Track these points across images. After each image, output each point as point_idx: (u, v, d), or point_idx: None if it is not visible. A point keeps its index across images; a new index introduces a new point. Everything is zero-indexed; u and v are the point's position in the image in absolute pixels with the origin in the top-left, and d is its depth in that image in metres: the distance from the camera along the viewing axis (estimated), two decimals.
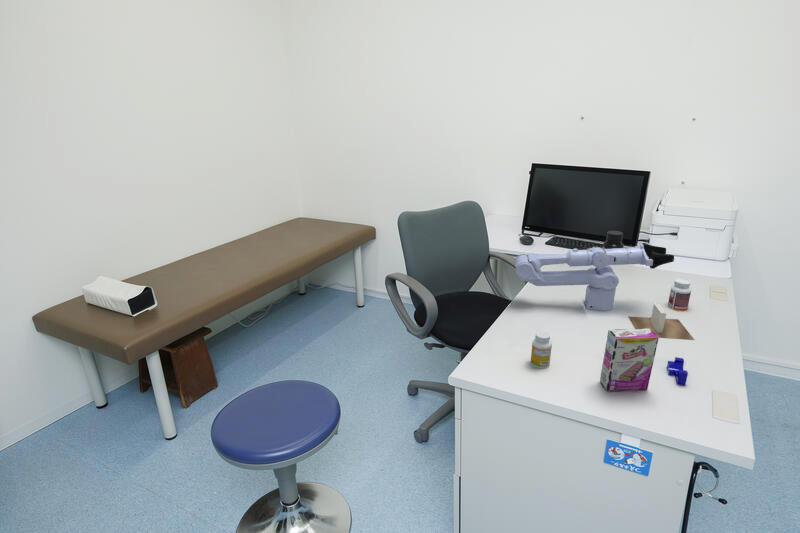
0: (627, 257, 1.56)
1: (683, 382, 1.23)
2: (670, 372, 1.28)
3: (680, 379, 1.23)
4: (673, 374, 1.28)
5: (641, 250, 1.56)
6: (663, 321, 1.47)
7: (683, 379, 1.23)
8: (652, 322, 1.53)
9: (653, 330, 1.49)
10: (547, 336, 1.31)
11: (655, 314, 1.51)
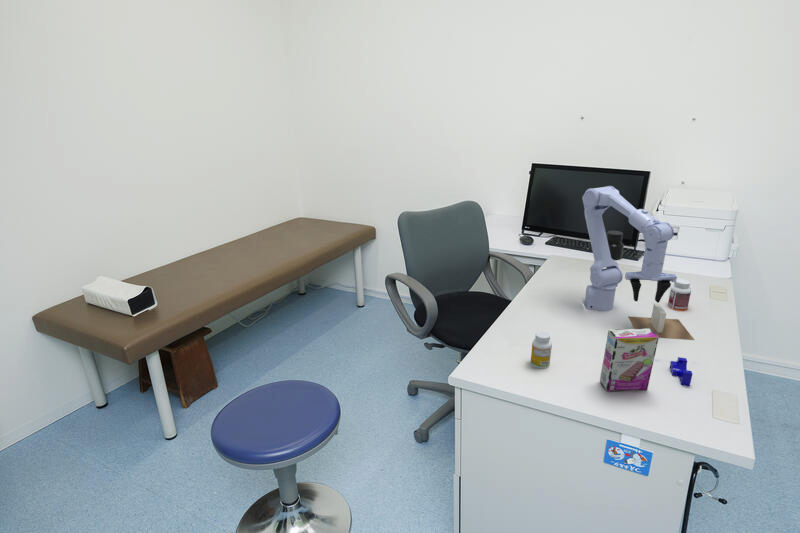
0: (648, 262, 1.42)
1: (687, 382, 1.23)
2: (674, 372, 1.27)
3: (685, 379, 1.23)
4: (677, 374, 1.27)
5: (647, 276, 1.44)
6: (663, 321, 1.47)
7: (688, 379, 1.23)
8: (652, 322, 1.53)
9: (653, 330, 1.49)
10: (547, 336, 1.31)
11: (655, 314, 1.51)
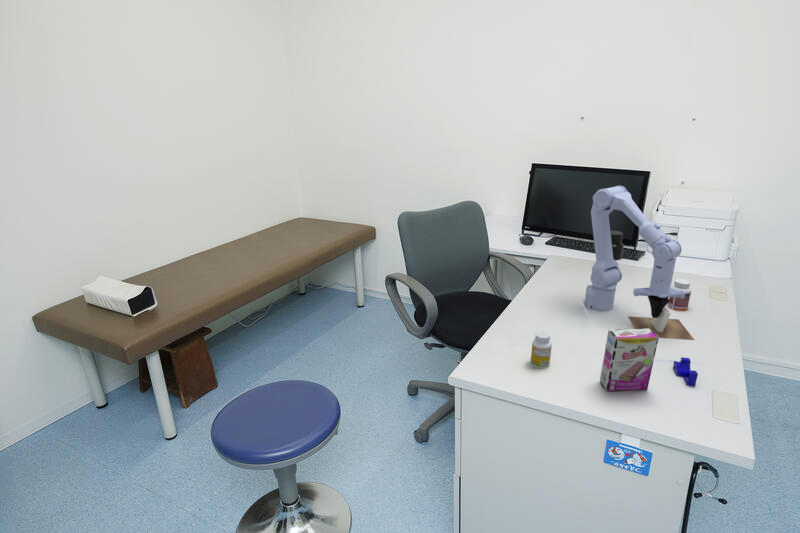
0: (658, 279, 1.43)
1: (693, 382, 1.23)
2: (678, 373, 1.27)
3: (690, 379, 1.23)
4: (681, 375, 1.27)
5: (656, 293, 1.45)
6: (666, 321, 1.46)
7: (693, 379, 1.23)
8: (653, 321, 1.53)
9: (653, 330, 1.49)
10: (547, 336, 1.31)
11: None
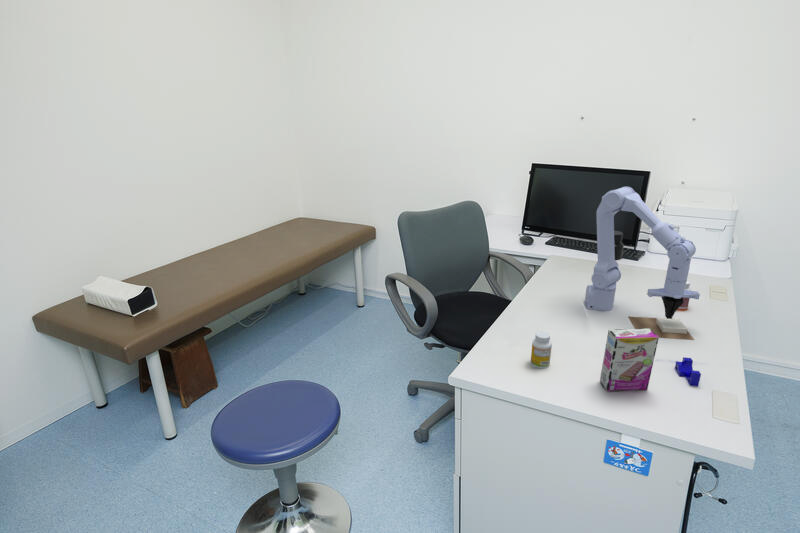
0: (674, 280, 1.42)
1: (696, 383, 1.23)
2: (681, 373, 1.27)
3: (694, 380, 1.23)
4: (683, 375, 1.27)
5: (670, 293, 1.44)
6: (676, 332, 1.47)
7: (696, 380, 1.23)
8: (661, 320, 1.52)
9: (653, 330, 1.49)
10: (547, 336, 1.31)
11: (673, 322, 1.50)
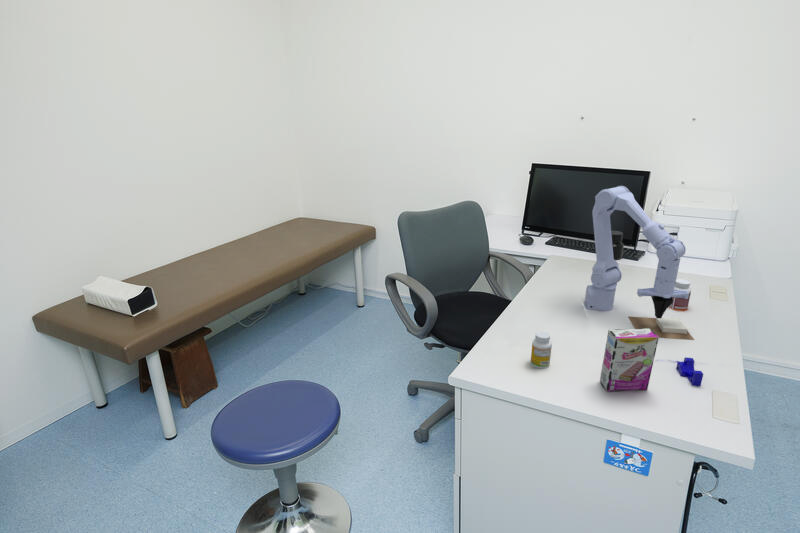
0: (663, 280, 1.43)
1: (698, 383, 1.23)
2: (682, 373, 1.27)
3: (696, 380, 1.23)
4: (685, 375, 1.27)
5: (660, 293, 1.45)
6: (676, 332, 1.47)
7: (698, 380, 1.23)
8: (661, 320, 1.52)
9: (653, 330, 1.49)
10: (547, 336, 1.31)
11: (673, 322, 1.50)
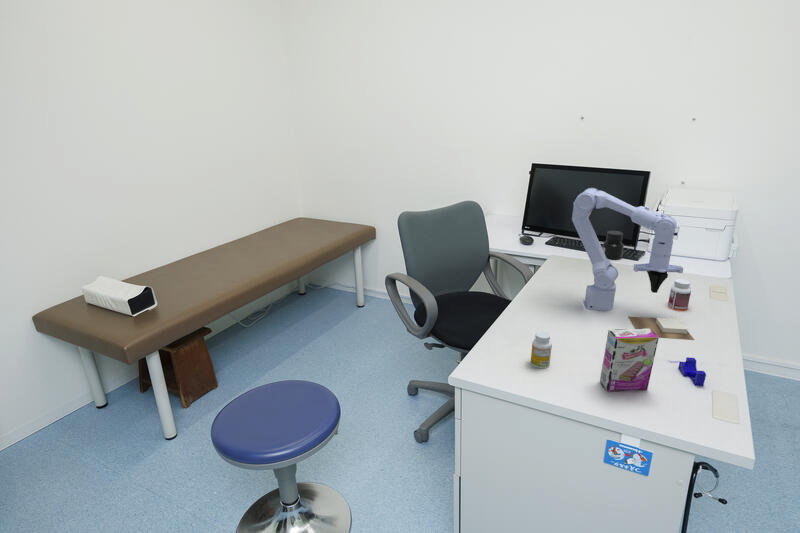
0: (661, 255, 1.48)
1: (701, 383, 1.23)
2: (685, 373, 1.27)
3: (699, 380, 1.23)
4: (688, 375, 1.27)
5: (655, 268, 1.50)
6: (676, 332, 1.47)
7: (701, 380, 1.23)
8: (661, 320, 1.52)
9: (653, 330, 1.49)
10: (547, 336, 1.31)
11: (673, 322, 1.50)
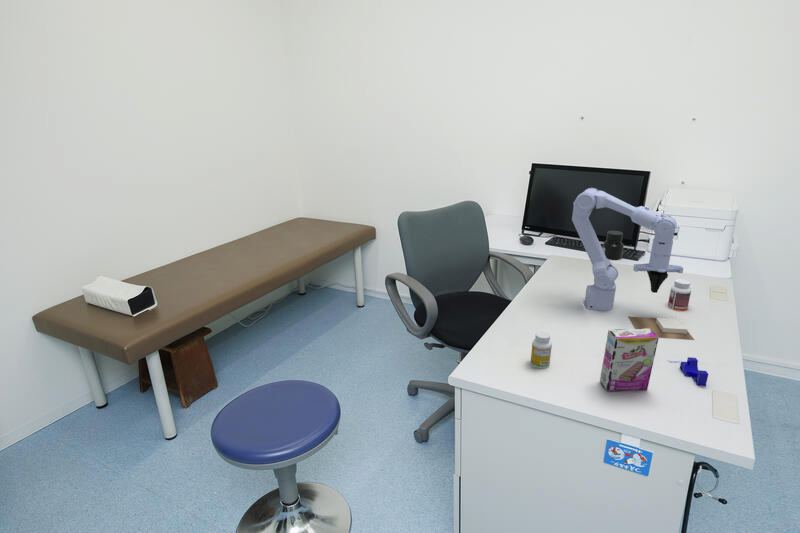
0: (661, 255, 1.48)
1: (703, 383, 1.23)
2: (687, 373, 1.27)
3: (701, 380, 1.23)
4: (690, 375, 1.27)
5: (655, 268, 1.50)
6: (676, 332, 1.47)
7: (704, 380, 1.23)
8: (661, 320, 1.52)
9: (653, 330, 1.49)
10: (547, 336, 1.31)
11: (673, 322, 1.50)
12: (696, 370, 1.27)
